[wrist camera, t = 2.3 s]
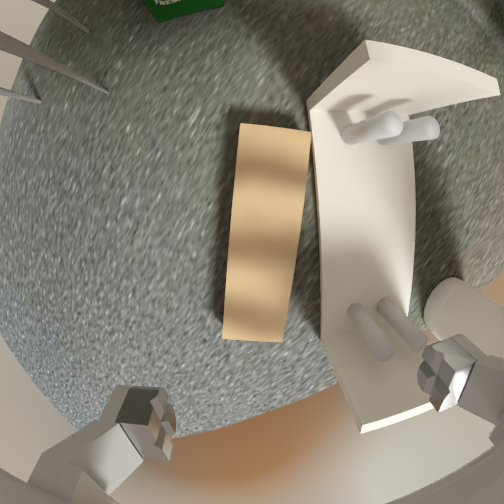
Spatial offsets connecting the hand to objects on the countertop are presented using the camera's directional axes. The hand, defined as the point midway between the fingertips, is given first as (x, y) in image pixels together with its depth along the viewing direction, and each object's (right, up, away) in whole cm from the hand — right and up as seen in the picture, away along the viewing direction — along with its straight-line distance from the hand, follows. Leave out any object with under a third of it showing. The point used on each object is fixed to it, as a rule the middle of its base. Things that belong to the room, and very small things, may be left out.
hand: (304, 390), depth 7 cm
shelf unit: (+10, +7, +19) cm, 23 cm away
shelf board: (-1, +6, +20) cm, 21 cm away
